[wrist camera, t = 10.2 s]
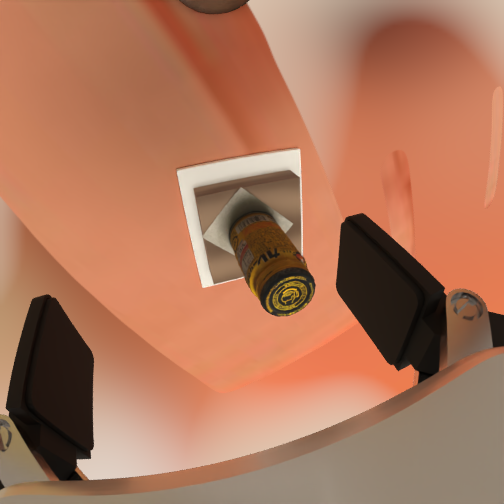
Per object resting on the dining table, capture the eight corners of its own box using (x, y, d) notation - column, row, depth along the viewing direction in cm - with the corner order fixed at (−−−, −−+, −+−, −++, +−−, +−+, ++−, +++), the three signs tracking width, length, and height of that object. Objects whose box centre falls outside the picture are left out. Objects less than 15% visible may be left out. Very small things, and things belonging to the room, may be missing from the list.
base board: (176, 169, 34) (176, 170, 34) (297, 147, 37) (300, 149, 36) (201, 284, 43) (202, 287, 43) (300, 259, 46) (302, 262, 46)
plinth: (193, 188, 35) (196, 197, 33) (289, 169, 37) (299, 177, 35) (209, 271, 42) (213, 284, 39) (293, 250, 44) (301, 262, 41)
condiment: (255, 266, 40) (290, 332, 30) (201, 236, 35) (222, 304, 26) (292, 222, 38) (341, 279, 28) (240, 185, 33) (278, 237, 24)
